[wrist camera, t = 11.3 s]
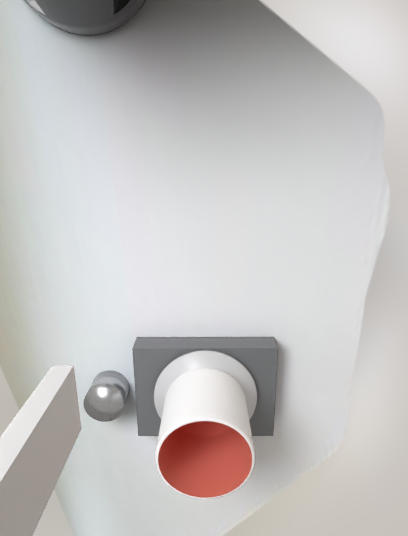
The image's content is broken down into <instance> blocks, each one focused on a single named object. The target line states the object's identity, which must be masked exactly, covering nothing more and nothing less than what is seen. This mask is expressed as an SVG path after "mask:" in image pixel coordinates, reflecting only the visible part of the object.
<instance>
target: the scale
mask: <svg viewBox="0 0 408 536" xmlns="http://www.w3.org/2000/svg"><path fill="white" fill-rule="evenodd" d="M277 357H278V347H277V344H276V342H275V339H274V337H137V338H136V341H135V344H134V346H133V363H134V378H135V393H136V408H137V422H138V436H159V430H160V425H161V419H162V413H163V407H164V401H165V397H166V393H167V391H168V389H169V387H170V386H171V384H172V383H173V382H174V381H175V380H176V379H177V378H178V377H179V376H181V375H182V374H184V373H186V372H188V371H190V370H194V369H198V368H212V369H217V370H220V371H223V372H225V373H227V374H228V375H230V376H231V377H232V378H234V379H235V380H236V381H237V382H238V384H239V385H240V386H241V388H242V390H243V392H244V395H245V398H246V404H247V410H248V416H249V422H250V428H251V434H252V436H273V428H274V410H275V393H276V375H277Z"/></svg>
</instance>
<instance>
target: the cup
mask: <svg viewBox="0 0 408 536" xmlns="http://www.w3.org/2000/svg"><path fill="white" fill-rule="evenodd" d="M155 461H156V467H157V470H158V472H159V474H160V476H161V478H162V479H163V480H164V482H165V483H166V484H167V485H168V486H169V487H171V488H172V489H174V490H175V491H177V492H178V493H180V494H183V495H185V496H188V497H192V498H198V499H213V498H219V497H223V496H226V495H228V494H230V493H232V492H234V491H236V490H237V489H239V488H240V487H241V486H242V485H243V484H244V483H245V482H246V481H247V480H248V478H249V477H250V475H251V473H252V471H253V468H254V465H255V451H254V446H253V440H252V434H251V428H250V422H249V416H248V410H247V404H246V398H245V395H244V392H243V390H242V388H241V386H240V385H239V384H238V382H237V381H236V380H235V379H234V378H232V377H231V376H230V375H228V374H227V373H225V372H223V371H220V370H217V369H212V368H198V369H194V370H190V371H188V372H186V373H184V374H182V375H181V376H179V377H178V378H177V379H176V380H175V381H174V382H173V383H172V384H171V386H170V387H169V389H168V391H167V393H166V397H165V401H164V407H163V413H162V419H161V425H160V430H159V436H158V442H157V448H156V454H155Z"/></svg>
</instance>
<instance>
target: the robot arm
mask: <svg viewBox="0 0 408 536" xmlns="http://www.w3.org/2000/svg"><path fill="white" fill-rule="evenodd" d="M24 1H25V2H26V3H27V4H28V5H29V6H30V7H31V8H32V9H33V10H34V11H35V12H37V13H38V14H39V15H40V16H41V17H42V18H44V19H45V20H46V21H47V22H49V23H51V24H52V25H54V26H56V27H58V28H60V29H62V30H64V31H67V32H70V33H74V34H80V35H97V34H102V33H106V32H109V31H112V30H114V29H116V28H118V27H120V26H122V25H123V24H125V23H126V22H127V21H129V20H130V19H131V18H132V17H133V16H134V15H135V14H136V13H137V12H138V10H139V9H140V8H141V6H142V5H143V4H144V2H145V0H24ZM80 430H81V422H80V414H79V406H78V398H77V389H76V381H75V373H74V366H52V367H51V368H50V370H49V371H48V372H47V374H46V375H45V377H44V378H43V379H42V381H41V382H40V383H39V385H38V386H37V388H36V389H35V390H34V392H33V393H32V394H31V396H30V397H29V398H28V400H27V401H26V403H25V404H24V405H23V407H22V408H21V409H20V411H19V412H18V414H17V415H16V416H15V418H14V419H13V421H12V422H11V423H10V425H9V426H8V427H7V429H6V430H5V432H4V433H3V434H2V435H1V437H0V536H32V535H33V533H34V531H35V529H36V527H37V524H38V522H39V520H40V518H41V516H42V513H43V511H44V509H45V507H46V505H47V503H48V500H49V498H50V496H51V494H52V492H53V489H54V487H55V485H56V483H57V481H58V478H59V476H60V474H61V472H62V470H63V467H64V465H65V463H66V461H67V459H68V457H69V454H70V452H71V450H72V448H73V446H74V443H75V441H76V439H77V437H78V435H79V432H80Z"/></svg>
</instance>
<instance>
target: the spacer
mask: <svg viewBox="0 0 408 536" xmlns="http://www.w3.org/2000/svg"><path fill="white" fill-rule="evenodd" d="M128 392H129V383H128V381H127V379H126V378H125V377H124V376H123V375H122V374H120V373H118V372H116V371H104V372H101V373H100V374H98V375H97V376H96V377H95V379H94V381H93V383H92V385H91V387H90V389H89V391H88V393H87V395H86V397H85V399H84V408H85V410H86V412H87V414H88V415H89V416H90V417H92V418H93V419H95V420H98V421H103V422H107V421H112V420H114V419H116V418H117V417H119V415H120V414H121V412H122V410H123V407H124V404H125V401H126V398H127V395H128Z"/></svg>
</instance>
